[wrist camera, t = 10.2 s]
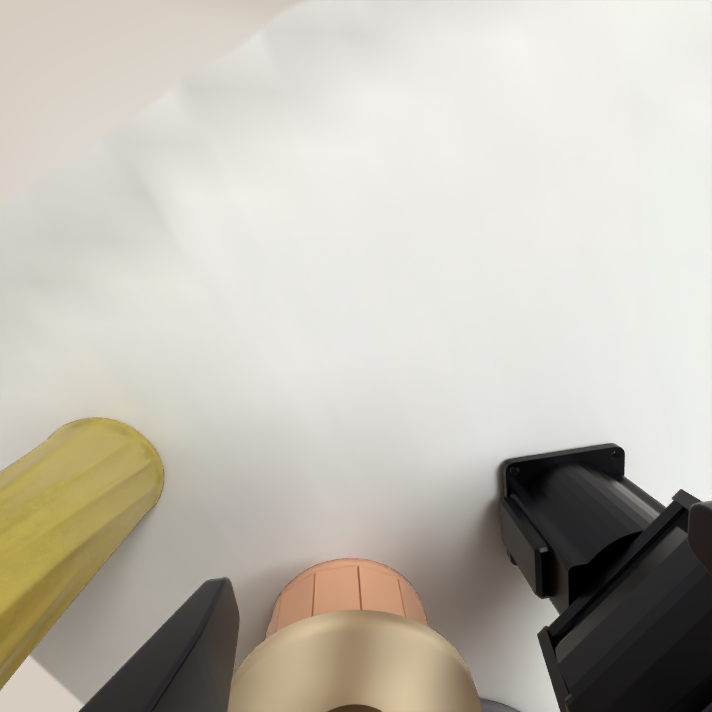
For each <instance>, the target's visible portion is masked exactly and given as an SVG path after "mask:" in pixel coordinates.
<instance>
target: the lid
mask: <svg viewBox="0 0 712 712" xmlns="http://www.w3.org/2000/svg"><path fill="white" fill-rule="evenodd" d="M227 712H482V708H481V703H480V700H479V697H478V694H477V691H476V688H475V685H474V682H473V679H472V676H471V673H470V671H469V668H468V667H467V665H466V663H465V661H464V659H463V658H462V656H461V655H460V654H459V653H458V651H457V650H456V649H455V648H454V646H452V645H451V644H450V643H449V642H448V641H447V640H446V639H445V638H444V637H443V636H441V635H440V634H438V633H437V632H435V631H434V630H432V629H431V628H429V627H427V626H425V625H423V624H421V623H419V622H417V621H415V620H412V619H409V618H406V617H404V616H400V615H396V614H392V613H387V612H381V611H372V610H345V611H335V612H329V613H325V614H320V615H315V616H312V617H309V618H306V619H303V620H300V621H297V622H295V623H293V624H291V625H289V626H287V627H284V628H282V629H281V630H279V631H278V632H276V633H274V634H273V635H271V636H269V637H268V638H267V639H265V640H264V641H263V642H262V643H260V644H259V645H258V646H257V647H255V648H254V649H253V651H252V652H251V653H250V654H249V655H248V656H247V657H246V658H245V659H244V660H243V662H242V663H241V664H240V666H239V667H238V669H237V670H236V672H235V674H234V676H233V678H232V682H231V690H230V697H229V704H228V711H227Z"/></svg>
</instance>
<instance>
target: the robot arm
mask: <svg viewBox="0 0 712 712" xmlns="http://www.w3.org/2000/svg"><path fill="white" fill-rule="evenodd" d="M614 451H615V453H614V454H613V455H612V456H611V454H612V453H613V452H614ZM624 464H625V453H624V450H623V449H622V448H621V447H619V446H618V445H616V444H614V443H610V444H604V445H597V446H591V447H584V448H578V449H571V450H565V451H558V452H552V453H546V454H539V455H533V456H526V457H520V458H513V459H509V460H507V461H506V462H505V463H504V464H503V468H502V470H503V486H504V498H502V500H501V502H500V511H501V527H502V539H503V542H504V543H505V545H506V547H507V553H508V557H509V559H510V561H511V562H512V563H513V564H514V565H518V566H519V568H520V570H521V571H522V573H523V575H524V576H525V578H526V580H527V581H528V583H529V585H530V586H531V588H532V590H533V591H534V593H535V595H537V596H538V597H539V598H541V599H545V598H549V599H550V601H551V602H552V604H553V605H554V607H555V608H556V610H557V612H558V613H559V615H560V616H559V617H558V618H557V619H556V620H555V621H554V622H553V623H552V624H551V625H550V626H549V627H548V626H545V627H544V628H543V629H542V630H541V631H540V632H539V633H538V634H537V636H538V640H539V643H540V646H541V649H542V653H543V656H544V659H545V662H546V666H547V669H548V672H549V675H550V679H551V682H552V685H553V689H554V692H555V695H556V698H557V702H558V705H559V708H560V711H561V712H712V501H706V502H702V501H700V500H699V499H697V498H695V497H694V496H692V495H690V494H689V493H687V492H685V491H684V490H682V489H680V490H679V491H678V492H677V493H676V494H675V495H674V496H673V497H672V499H673V502H672V503H671V504H670V505H669V506H668V507H667V508H666V507H665V506H663V505H662V504H661V503H659V502H658V501H657V500H655V499H654V498H653V497H651V496H650V495H649V494H647V493H646V492H645V491H643V490H642V489H641V488H639V487H638V486H636V485H635V484H634V483H632V482H631V481H630V480H628V479H627V478H626V477H624ZM512 467H516V469H515V470H514V471H510V469H511V468H512ZM238 631H239V611H238V607H237V603H236V599H235V595H234V591H233V587H232V583H231V581H230V579H229V578H227V577H223V578H217V579H210V580H207V581H206V582H205V583H203V584H202V585H201V586H200V587H199V589H198V590H197V591H196V592H195V593H194V594H193V595H192V596H191V597H190V598H189V599H188V600H187V601H186V602H185V603H184V604H183V605H182V606H181V607H180V608H179V609H178V610H177V611H176V612H175V613H174V614H173V615H172V616H171V617H170V618H169V619H168V620H167V621H166V622H165V623H164V624H163V625H162V626H161V628H160V629H159V630H158V631H157V632H156V633H155V634H154V635H153V636H152V637H151V638H150V639H149V640H148V641H147V642H146V643H145V644H144V645H143V646H142V647H141V648H140V649H139V650H138V651H137V652H136V653H135V654H134V655H133V656H132V657H131V658H130V659H129V660H128V661H127V662H126V663H125V664H124V665H123V667H122V668H121V669H120V670H119V671H118V672H117V673H116V674H115V675H114V676H113V677H112V678H111V679H110V680H109V681H108V682H107V683H106V684H105V685H104V686H103V687H102V688H101V689H100V690H99V691H98V692H97V693H96V694H95V695H94V696H93V697H92V698H91V699H90V700H89V701H88V702H87V703H86V704H85V706H84V707H83V708H82V709H81V710H80V711H79V712H227V711H228V704H229V697H230V690H231V682H232V675H233V667H234V660H235V653H236V645H237V638H238Z"/></svg>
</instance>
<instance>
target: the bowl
mask: <svg viewBox="0 0 712 712" xmlns="http://www.w3.org/2000/svg"><path fill="white" fill-rule="evenodd" d="M345 610H372V611H381V612H387V613H392V614H396V615H400V616H404V617H406V618H409V619H412V620H415V621H417V622H419V623H421V624H423V625H425V626H427V627H428V623H427V619H426V616H425V612H424V608H423V605H422V603H421V602H420V600H419V598H418V595H417V593H416V592H415V590H414V588H413V587H412V586H411V584H410V583H409V582H408V581H407V580H406V579H405V578H404V577H403V576H402V575H401V574H399V573H398V572H396V571H395V570H393V569H391V568H389V567H388V566H386V565H383V564H380V563H378V562H374V561H370V560H365V559H357V558H345V559H336V560H331V561H327V562H324V563H321V564H318V565H315V566H313V567H311V568H309V569H307V570H305V571H304V572H302V573H301V574H299V575H298V576H296V577H295V578H294V579H293V580H292V581H291V582H290V583H289V584H288V585H287V586H286V587H285V588H284V590H283V591H282V592H281V594H280V595H279V597H278V599H277V601H276V603H275V606H274V609H273V614H272V619H271V621H270V624H269V626H268V628H267V633H266V638H265V639H267V638H268V637H269V636H271V635H273V634H274V633H276V632H278V631H279V630H281V629H282V628H284V627H287V626H289V625H291V624H293V623H295V622H297V621H300V620H303V619H306V618H309V617H312V616H315V615H320V614H325V613H329V612H335V611H345Z"/></svg>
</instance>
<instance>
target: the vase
mask: <svg viewBox="0 0 712 712" xmlns="http://www.w3.org/2000/svg"><path fill="white" fill-rule="evenodd" d="M163 483H164V472H163V466H162V462H161V460H160V458H159V455H158V453H157V452H156V450H155V448H154V447H153V446H152V445H151V443H150V442H149V441H148V440H147V439H146V438H144V437H143V436H142V435H141V434H140V433H138V432H137V431H136V430H134V429H133V428H132V427H130V426H128V425H126V424H123V423H121V422H118V421H115V420H110V419H105V418H87V419H81V420H77V421H74V422H71V423H68V424H66V425H64V426H62V427H61V428H60V429H58V430H57V431H56V432H54V433H53V434H52V435H51V436H50V437H49V438H48V440H47V441H45V442H44V443H42V444H41V445H39V446H38V447H37V448H35V449H34V450H32V451H31V452H29V453H28V454H27V455H25V456H24V457H22V458H21V459H19V460H18V461H16V462H15V463H13V464H12V465H10V466H8V467H7V468H5V469H4V470H2V471H1V472H0V690H1V688H3V686H4V685H5V684H6V682H7V681H8V680H9V679H10V677H11V676H12V675H13V674H14V673H15V671H16V670H17V669H18V668H19V666H20V665H21V664H22V663H23V661H24V660H25V659H26V658H27V656H28V655H29V654H30V653H31V651H32V650H33V649H34V648H35V647H36V645H37V644H38V643H39V642H40V640H41V639H42V638H43V637H44V635H45V634H46V633H47V632H48V631H49V629H50V628H51V627H52V626H53V624H54V623H55V622H56V621H57V620H58V618H59V617H60V616H61V615H62V613H63V612H64V611H65V610H66V609H67V607H68V606H69V605H70V604H71V603H72V601H73V600H74V599H75V598H76V597H77V595H78V594H79V593H80V592H81V591H82V589H83V588H84V587H85V586H86V585H87V583H88V582H89V581H90V580H91V578H92V577H93V576H94V575H95V574H96V572H97V571H98V570H99V569H100V568H101V566H102V565H103V564H104V563H105V562H106V561H107V559H108V558H109V557H110V556H111V555H112V553H113V552H114V551H115V550H116V549H117V547H118V546H119V545H120V544H121V543H122V542H123V540H124V539H125V538H126V537H127V536H128V534H129V533H130V532H131V531H132V530H133V528H134V527H135V526H136V525H137V524H138V522H139V521H140V520H141V519H142V517H143V516H144V515H145V514H146V513H147V512H148V511H149V510H150V509H151V508H152V507H153V506H154V505H155V504H156V503H157V501H158V499H159V497H160V494H161V491H162V488H163Z"/></svg>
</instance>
